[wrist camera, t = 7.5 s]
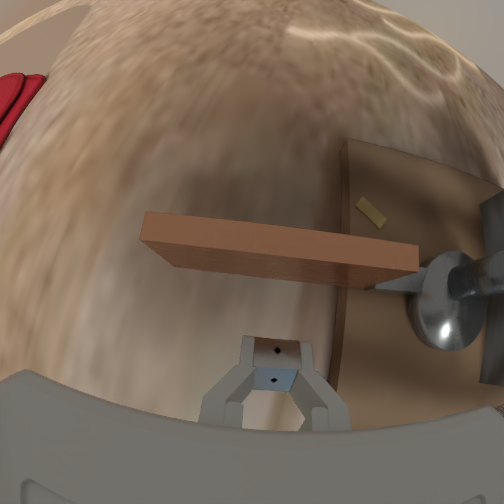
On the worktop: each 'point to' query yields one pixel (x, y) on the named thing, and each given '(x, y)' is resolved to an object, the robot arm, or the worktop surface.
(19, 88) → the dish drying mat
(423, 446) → the robot arm
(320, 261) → the wooden lever
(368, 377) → the stand
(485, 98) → the worktop surface
